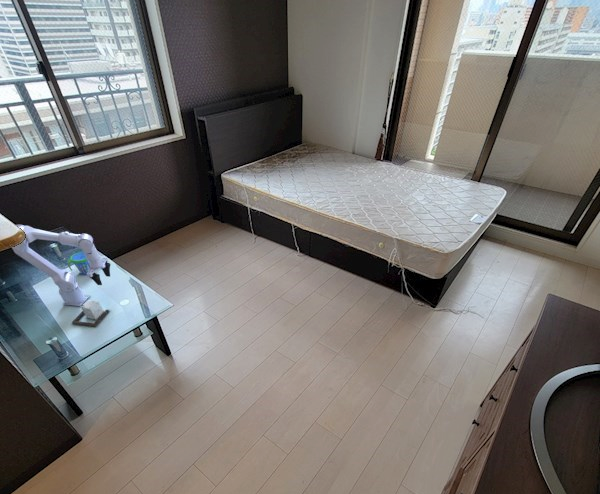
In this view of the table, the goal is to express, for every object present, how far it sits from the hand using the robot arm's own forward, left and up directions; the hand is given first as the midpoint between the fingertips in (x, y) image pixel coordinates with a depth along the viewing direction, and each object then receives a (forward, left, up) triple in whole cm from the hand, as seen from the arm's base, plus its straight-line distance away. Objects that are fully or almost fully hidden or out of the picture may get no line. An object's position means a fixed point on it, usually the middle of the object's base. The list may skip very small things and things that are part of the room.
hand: (104, 280), depth 178 cm
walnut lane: (+1, -18, -9) cm, 21 cm away
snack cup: (-26, +18, -10) cm, 33 cm away
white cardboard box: (+2, -17, -10) cm, 19 cm away
